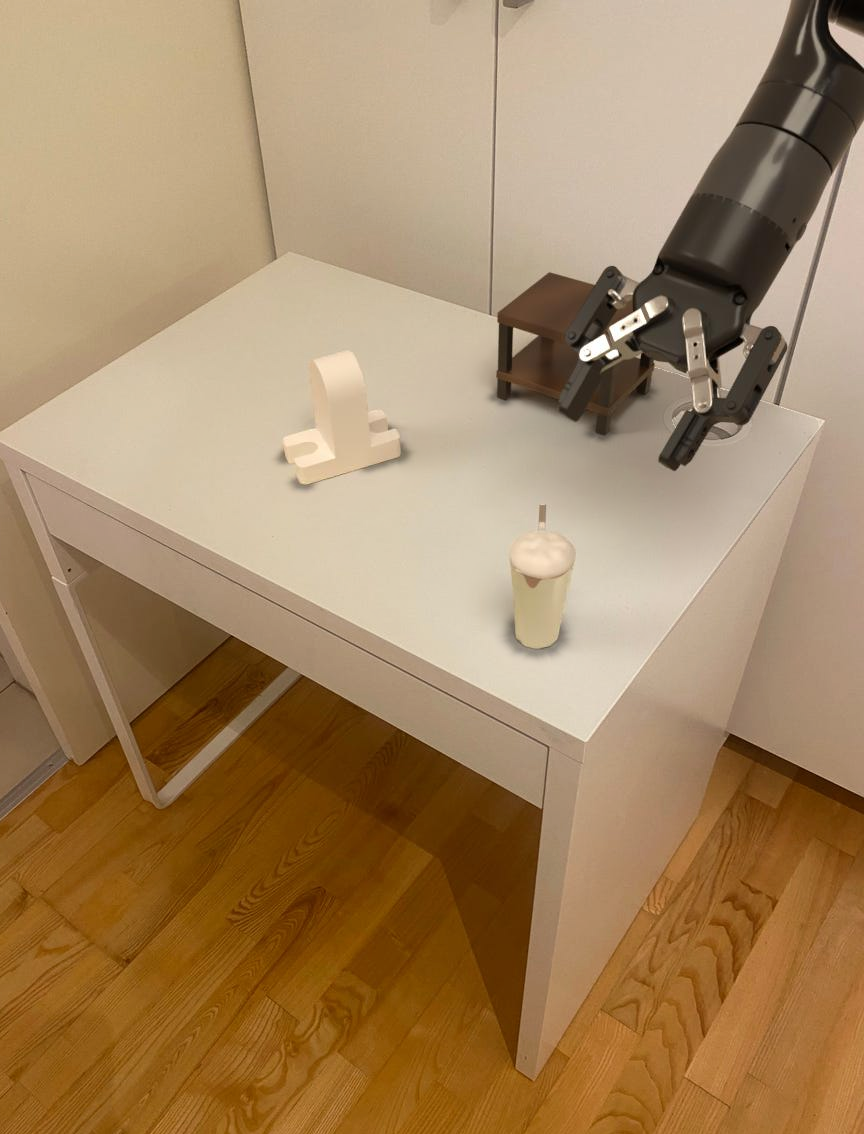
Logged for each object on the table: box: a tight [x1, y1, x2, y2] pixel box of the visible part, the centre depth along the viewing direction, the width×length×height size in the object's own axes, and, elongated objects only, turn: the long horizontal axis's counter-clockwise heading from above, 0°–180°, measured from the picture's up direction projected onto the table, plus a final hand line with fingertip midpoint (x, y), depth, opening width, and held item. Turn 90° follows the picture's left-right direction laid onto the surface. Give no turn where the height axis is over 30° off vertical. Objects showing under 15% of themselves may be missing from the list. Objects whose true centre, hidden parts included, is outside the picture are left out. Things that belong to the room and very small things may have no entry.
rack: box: [495, 271, 656, 436], centre depth 93 cm, size 12×9×9 cm
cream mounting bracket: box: [282, 349, 402, 485], centre depth 88 cm, size 5×10×10 cm, turn 112°
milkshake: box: [508, 503, 576, 650], centre depth 71 cm, size 4×5×10 cm
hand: (615, 441), depth 68 cm, fingers open, 8 cm apart
